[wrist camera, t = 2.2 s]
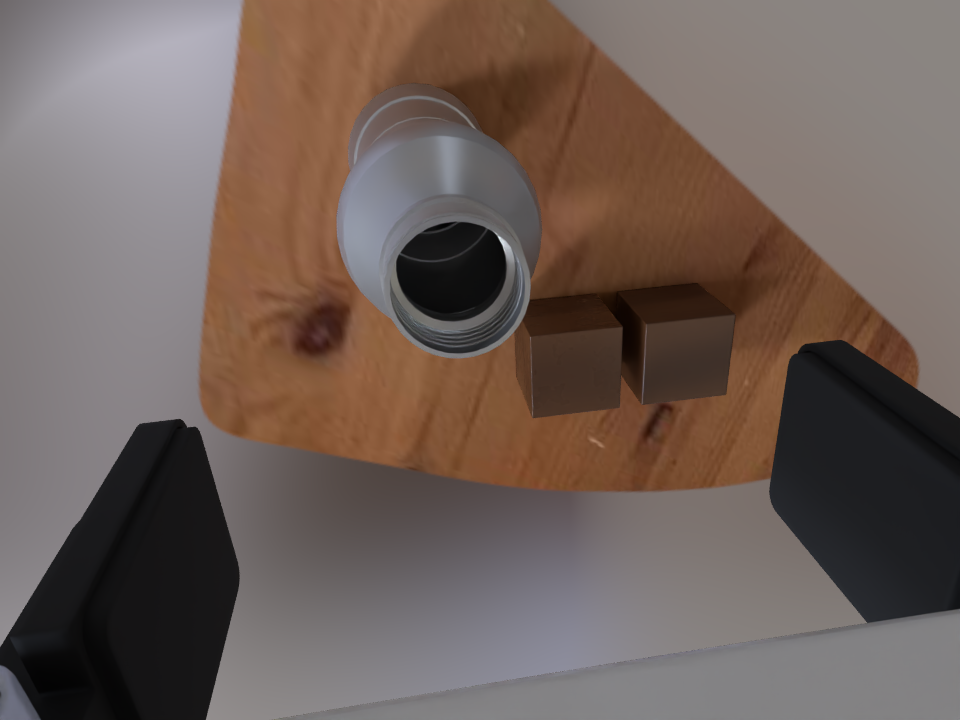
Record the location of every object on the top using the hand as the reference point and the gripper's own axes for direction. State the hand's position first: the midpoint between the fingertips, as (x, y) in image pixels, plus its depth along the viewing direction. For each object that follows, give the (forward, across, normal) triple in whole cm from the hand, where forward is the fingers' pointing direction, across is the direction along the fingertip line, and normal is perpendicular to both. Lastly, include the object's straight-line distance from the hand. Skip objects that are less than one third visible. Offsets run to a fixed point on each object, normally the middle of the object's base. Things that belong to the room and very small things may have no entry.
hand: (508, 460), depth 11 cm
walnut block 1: (+27, -7, +10) cm, 29 cm away
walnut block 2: (+26, -13, +10) cm, 31 cm away
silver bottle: (+27, 0, -1) cm, 27 cm away
